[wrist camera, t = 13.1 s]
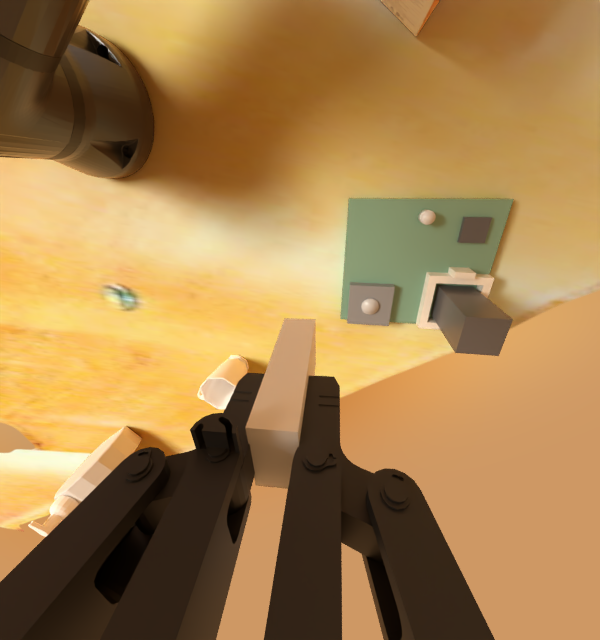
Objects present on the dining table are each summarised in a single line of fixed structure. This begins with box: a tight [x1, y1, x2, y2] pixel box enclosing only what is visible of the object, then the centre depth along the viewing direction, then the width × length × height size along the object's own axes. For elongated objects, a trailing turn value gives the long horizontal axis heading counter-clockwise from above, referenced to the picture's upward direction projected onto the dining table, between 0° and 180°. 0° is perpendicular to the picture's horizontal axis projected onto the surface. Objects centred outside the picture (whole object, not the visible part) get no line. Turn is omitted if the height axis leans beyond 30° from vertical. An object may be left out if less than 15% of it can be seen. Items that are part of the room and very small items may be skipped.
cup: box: [197, 355, 249, 409], centre depth 48 cm, size 7×10×8 cm
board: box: [341, 198, 514, 324], centre depth 37 cm, size 17×19×3 cm
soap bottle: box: [28, 426, 142, 536], centre depth 58 cm, size 16×5×20 cm, turn 130°
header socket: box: [416, 267, 494, 329], centre depth 37 cm, size 9×8×2 cm
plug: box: [431, 285, 513, 356], centre depth 34 cm, size 4×4×10 cm
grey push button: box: [347, 282, 395, 326], centre depth 40 cm, size 6×10×3 cm, turn 90°
